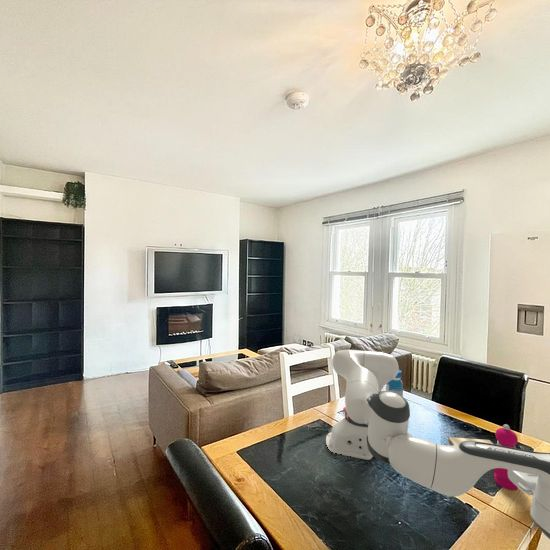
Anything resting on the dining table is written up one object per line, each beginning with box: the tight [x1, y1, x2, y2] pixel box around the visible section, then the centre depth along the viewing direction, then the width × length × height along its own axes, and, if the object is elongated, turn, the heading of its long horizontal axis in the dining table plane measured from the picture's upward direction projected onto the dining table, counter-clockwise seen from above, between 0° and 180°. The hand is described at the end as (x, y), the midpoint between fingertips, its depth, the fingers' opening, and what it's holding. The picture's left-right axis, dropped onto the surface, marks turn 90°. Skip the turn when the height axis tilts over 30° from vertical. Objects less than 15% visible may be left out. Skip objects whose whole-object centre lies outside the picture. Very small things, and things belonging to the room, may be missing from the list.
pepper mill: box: [492, 423, 519, 491], centre depth 102 cm, size 7×7×20 cm
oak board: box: [447, 436, 494, 446], centre depth 119 cm, size 16×16×2 cm
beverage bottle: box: [385, 369, 404, 398], centre depth 157 cm, size 8×8×20 cm
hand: (533, 463), depth 89 cm, fingers open, 8 cm apart
